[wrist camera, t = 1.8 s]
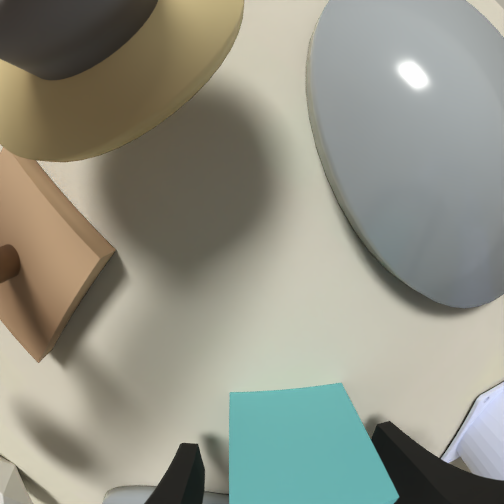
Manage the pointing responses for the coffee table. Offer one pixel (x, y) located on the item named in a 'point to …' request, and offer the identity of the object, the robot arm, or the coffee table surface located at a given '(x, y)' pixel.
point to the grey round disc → (133, 497)
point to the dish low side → (415, 138)
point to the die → (12, 485)
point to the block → (303, 450)
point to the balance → (83, 129)
